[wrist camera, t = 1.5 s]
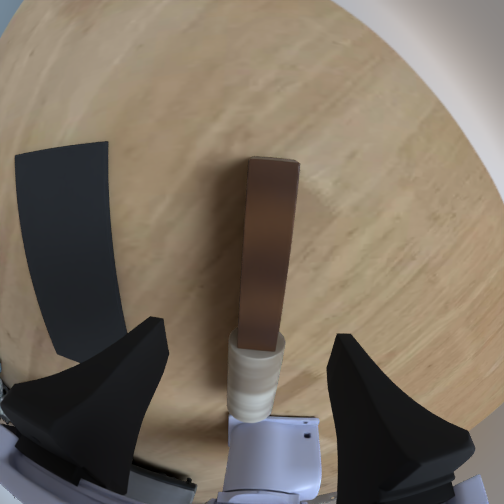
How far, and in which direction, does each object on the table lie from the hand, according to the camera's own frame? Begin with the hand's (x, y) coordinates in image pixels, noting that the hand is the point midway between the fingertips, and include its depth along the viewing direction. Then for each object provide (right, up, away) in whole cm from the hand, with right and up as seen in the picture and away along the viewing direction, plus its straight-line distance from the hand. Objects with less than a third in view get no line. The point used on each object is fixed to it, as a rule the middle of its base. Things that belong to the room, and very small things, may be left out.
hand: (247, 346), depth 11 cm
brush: (+1, 0, +9) cm, 9 cm away
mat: (-16, +2, +10) cm, 19 cm away
